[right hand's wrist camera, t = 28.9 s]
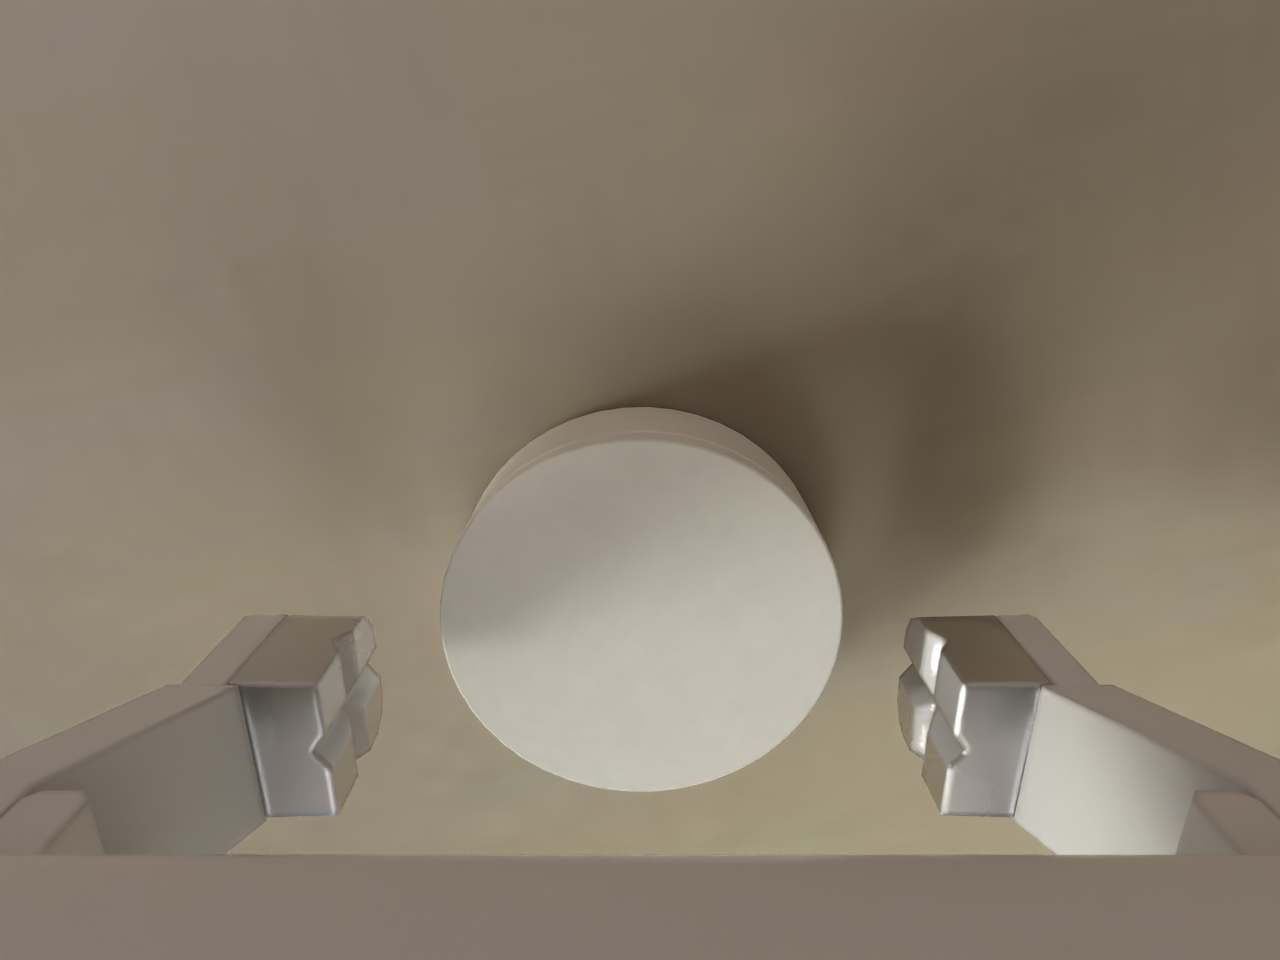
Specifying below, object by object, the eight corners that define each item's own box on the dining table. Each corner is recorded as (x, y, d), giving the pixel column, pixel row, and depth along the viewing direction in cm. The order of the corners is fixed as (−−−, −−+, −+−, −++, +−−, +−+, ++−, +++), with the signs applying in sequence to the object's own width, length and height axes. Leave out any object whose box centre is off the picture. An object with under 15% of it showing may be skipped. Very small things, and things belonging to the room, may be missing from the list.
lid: (873, 465, 12) (908, 508, 10) (748, 756, 13) (762, 829, 12) (511, 358, 11) (490, 385, 9) (432, 676, 13) (403, 742, 11)
